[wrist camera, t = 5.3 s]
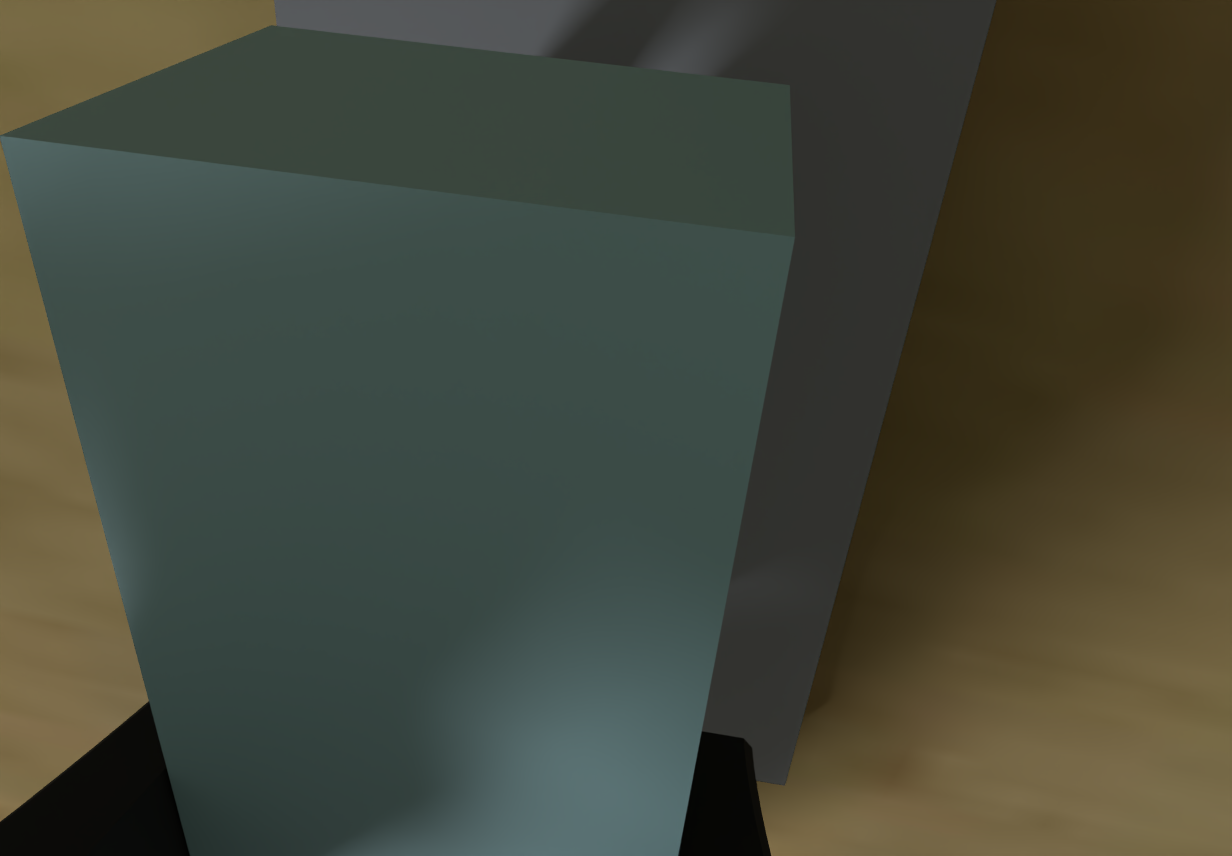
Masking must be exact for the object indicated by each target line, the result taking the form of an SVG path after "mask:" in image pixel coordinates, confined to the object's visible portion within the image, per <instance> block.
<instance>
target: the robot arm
mask: <svg viewBox="0 0 1232 856" xmlns="http://www.w3.org/2000/svg"><path fill="white" fill-rule="evenodd" d="M0 856H190V854H189V850H188V846H187V843H186V839H185V835H184V831H183V828H182V824H181V820H180V816H179V812H178V809H177V805H176V801H175V797H174V793H173V790H172V786H171V782H170V778H169V775H168V771H167V767H166V763H165V759H164V756H163V752H162V748H161V744H160V741H159V737H158V733H157V729H156V725H155V722H154V718H153V714H152V710H151V707H150V703H149V702H148V703H146V704H145V705H144V706H143V707H142V708H140V709H139V710H138V711H137V712H136V713H134V714H133V715H132V716H131V717H130V718H128V719H127V720H126V721H125V722H124V723H122V724H121V725H120V726H119V727H118V728H116V729H115V730H114V731H113V732H112V733H110V734H109V735H108V736H107V737H106V738H104V739H103V740H102V741H101V742H100V743H98V744H97V745H96V746H95V747H94V748H92V749H91V750H90V751H89V752H87V753H86V754H85V755H84V756H82V757H81V758H80V759H79V760H77V761H76V762H75V763H74V764H73V765H71V766H70V767H69V768H68V769H66V770H65V771H64V772H63V773H61V774H60V775H59V776H58V777H56V778H55V779H54V780H53V781H51V782H50V783H49V784H48V785H46V786H45V787H44V788H43V789H41V790H40V791H39V792H38V793H36V794H35V795H34V796H33V797H31V798H30V799H29V800H28V801H26V802H25V803H24V804H23V805H21V806H20V807H19V808H17V809H16V810H15V811H14V812H12V813H11V814H10V815H8V816H7V817H6V818H5V819H3V820H2V821H1V822H0ZM678 856H771V853H770V848H769V844H768V840H767V836H766V831H765V826H764V822H763V817H762V812H761V807H760V801H759V796H758V790H757V783H756V777H755V770H754V762H753V750H752V747H751V746H750V745H749V744H748V742H747V741H746V740H745V739H744V738H740V737H734V736H728V735H722V734H716V733H710V732H704V731H702V732H701V737H700V743H699V748H698V753H697V758H696V764H695V769H694V774H693V780H692V785H691V790H690V795H689V801H688V806H687V811H686V817H685V822H684V827H683V832H682V838H681V843H680V848H679V854H678Z"/></svg>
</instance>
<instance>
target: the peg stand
mask: <svg viewBox="0 0 1232 856" xmlns="http://www.w3.org/2000/svg"><path fill="white" fill-rule="evenodd" d="M274 2H275V12H276V22H277V26H281V27H290V28H299V29H307V30H316V31H325V32H333V33H342V34H351V35H359V36H368V37H377V38H385V39H394V40H403V41H411V42H420V43H429V44H437V45H446V46H455V47H463V48H472V49H481V50H489V51H498V52H507V53H515V54H524V55H533V56H542V57H550V58H559V59H568V60H576V61H585V62H594V63H602V64H611V65H620V66H628V67H637V68H646V69H654V70H663V71H672V72H680V73H689V74H698V75H706V76H715V77H724V78H732V79H741V80H750V81H758V82H767V83H776V84H784V85H790V106H791V135H792V164H793V193H794V222H795V240H794V245H793V251H792V256H791V261H790V266H789V272H788V277H787V282H786V288H785V293H784V298H783V303H782V309H781V314H780V319H779V325H778V330H777V335H776V340H775V346H774V351H773V356H772V362H771V367H770V372H769V377H768V383H767V388H766V393H765V399H764V404H763V409H762V415H761V420H760V425H759V430H758V436H757V441H756V446H755V452H754V457H753V462H752V467H751V473H750V478H749V483H748V489H747V494H746V499H745V504H744V510H743V515H742V520H741V526H740V531H739V536H738V541H737V547H736V552H735V557H734V563H733V568H732V573H731V579H730V584H729V589H728V594H727V600H726V605H725V610H724V616H723V621H722V626H721V631H720V637H719V642H718V647H717V653H716V658H715V663H714V668H713V674H712V679H711V684H710V690H709V695H708V700H707V705H706V711H705V716H704V721H703V727H702V731H704V732H710V733H716V734H722V735H728V736H734V737H740V738H744V739H745V740H746V741H747V742H748V744H749V745H750V746H751V747H752V750H753V762H754V770H755V777H756V781H761V782H767V783H773V784H779V785H785V783H786V779H787V776H788V772H789V768H790V764H791V761H792V757H793V753H794V750H795V746H796V742H797V738H798V735H799V731H800V727H801V724H802V720H803V716H804V713H805V709H806V705H807V701H808V698H809V694H810V690H811V687H812V683H813V679H814V675H815V672H816V668H817V664H818V661H819V657H820V653H821V649H822V646H823V642H824V638H825V635H826V631H827V627H828V623H829V620H830V616H831V612H832V609H833V605H834V601H835V598H836V594H837V590H838V586H839V583H840V579H841V575H842V572H843V568H844V564H845V560H846V557H847V553H848V549H849V546H850V542H851V538H852V534H853V531H854V527H855V523H856V520H857V516H858V512H859V508H860V505H861V501H862V497H863V494H864V490H865V486H866V482H867V479H868V475H869V471H870V468H871V464H872V460H873V457H874V453H875V449H876V445H877V442H878V438H879V434H880V431H881V427H882V423H883V419H884V416H885V412H886V408H887V405H888V401H889V397H890V393H891V390H892V386H893V382H894V379H895V375H896V371H897V367H898V364H899V360H900V356H901V353H902V349H903V345H904V342H905V338H906V334H907V330H908V327H909V323H910V319H911V316H912V312H913V308H914V304H915V301H916V297H917V293H918V290H919V286H920V282H921V278H922V275H923V271H924V267H925V264H926V260H927V256H928V252H929V249H930V245H931V241H932V238H933V234H934V230H935V226H936V223H937V219H938V215H939V212H940V208H941V204H942V201H943V197H944V193H945V189H946V186H947V182H948V178H949V175H950V171H951V167H952V163H953V160H954V156H955V152H956V149H957V145H958V141H959V137H960V134H961V130H962V126H963V123H964V119H965V115H966V111H967V108H968V104H969V100H970V97H971V93H972V89H973V86H974V82H975V78H976V74H977V71H978V67H979V63H980V60H981V56H982V52H983V48H984V45H985V41H986V37H987V34H988V30H989V26H990V22H991V19H992V15H993V11H994V8H995V4H996V0H274Z"/></svg>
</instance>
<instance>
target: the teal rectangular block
mask: <svg viewBox="0 0 1232 856" xmlns="http://www.w3.org/2000/svg"><path fill="white" fill-rule="evenodd" d="M0 139H1V143H2V147H3V151H4V155H5V158H6V162H7V166H8V170H9V174H10V177H11V181H12V185H13V189H14V192H15V196H16V200H17V204H18V208H19V211H20V215H21V219H22V223H23V226H24V230H25V234H26V238H27V242H28V245H29V249H30V253H31V257H32V260H33V264H34V268H35V272H36V276H37V279H38V283H39V287H40V291H41V294H42V298H43V302H44V306H45V310H46V313H47V317H48V321H49V325H50V328H51V332H52V336H53V340H54V344H55V347H56V351H57V355H58V359H59V363H60V366H61V370H62V374H63V378H64V381H65V385H66V389H67V393H68V397H69V400H70V404H71V408H72V412H73V415H74V419H75V423H76V427H77V431H78V434H79V438H80V442H81V446H82V449H83V453H84V457H85V461H86V465H87V468H88V472H89V476H90V480H91V483H92V487H93V491H94V495H95V499H96V502H97V506H98V510H99V514H100V518H101V521H102V525H103V529H104V533H105V536H106V540H107V544H108V548H109V552H110V555H111V559H112V563H113V567H114V570H115V574H116V578H117V582H118V586H119V589H120V593H121V597H122V601H123V604H124V608H125V612H126V616H127V620H128V623H129V627H130V631H131V635H132V638H133V642H134V646H135V650H136V654H137V657H138V661H139V665H140V669H141V673H142V676H143V680H144V684H145V688H146V691H147V695H148V699H149V703H150V707H151V710H152V714H153V718H154V722H155V725H156V729H157V733H158V737H159V741H160V744H161V748H162V752H163V756H164V759H165V763H166V767H167V771H168V775H169V778H170V782H171V786H172V790H173V793H174V797H175V801H176V805H177V809H178V812H179V816H180V820H181V824H182V828H183V831H184V835H185V839H186V843H187V846H188V850H189V854H190V856H678V854H679V848H680V843H681V838H682V832H683V827H684V822H685V817H686V811H687V806H688V801H689V795H690V790H691V785H692V780H693V774H694V769H695V764H696V758H697V753H698V748H699V743H700V737H701V732H702V727H703V721H704V716H705V711H706V705H707V700H708V695H709V690H710V684H711V679H712V674H713V668H714V663H715V658H716V653H717V647H718V642H719V637H720V631H721V626H722V621H723V616H724V610H725V605H726V600H727V594H728V589H729V584H730V579H731V573H732V568H733V563H734V557H735V552H736V547H737V541H738V536H739V531H740V526H741V520H742V515H743V510H744V504H745V499H746V494H747V489H748V483H749V478H750V473H751V467H752V462H753V457H754V452H755V446H756V441H757V436H758V430H759V425H760V420H761V415H762V409H763V404H764V399H765V393H766V388H767V383H768V377H769V372H770V367H771V362H772V356H773V351H774V346H775V340H776V335H777V330H778V325H779V319H780V314H781V309H782V303H783V298H784V293H785V288H786V282H787V277H788V272H789V266H790V261H791V256H792V251H793V245H794V240H795V222H794V193H793V164H792V135H791V106H790V85H784V84H776V83H767V82H758V81H750V80H741V79H732V78H724V77H715V76H706V75H698V74H689V73H680V72H672V71H663V70H654V69H646V68H637V67H628V66H620V65H611V64H602V63H594V62H585V61H576V60H568V59H559V58H550V57H542V56H533V55H524V54H515V53H507V52H498V51H489V50H481V49H472V48H463V47H455V46H446V45H437V44H429V43H420V42H411V41H403V40H394V39H385V38H377V37H368V36H359V35H351V34H342V33H333V32H325V31H316V30H307V29H299V28H290V27H281V26H273V25H271V26H269V27H266V28H264V29H261V30H259V31H256V32H254V33H252V34H249V35H247V36H244V37H242V38H239V39H237V40H234V41H232V42H229V43H227V44H224V45H222V46H220V47H217V48H215V49H212V50H210V51H207V52H205V53H202V54H200V55H197V56H195V57H192V58H190V59H188V60H185V61H183V62H180V63H178V64H175V65H173V66H170V67H168V68H165V69H163V70H160V71H158V72H155V73H153V74H151V75H148V76H146V77H143V78H141V79H138V80H136V81H133V82H131V83H128V84H126V85H123V86H121V87H119V88H116V89H114V90H111V91H109V92H106V93H104V94H101V95H99V96H96V97H94V98H91V99H89V100H87V101H84V102H82V103H79V104H77V105H74V106H72V107H69V108H67V109H64V110H62V111H59V112H57V113H54V114H52V115H50V116H47V117H45V118H42V119H40V120H37V121H35V122H32V123H30V124H27V125H25V126H22V127H20V128H18V129H15V130H13V131H10V132H8V133H5V134H3V135H0Z"/></svg>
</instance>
